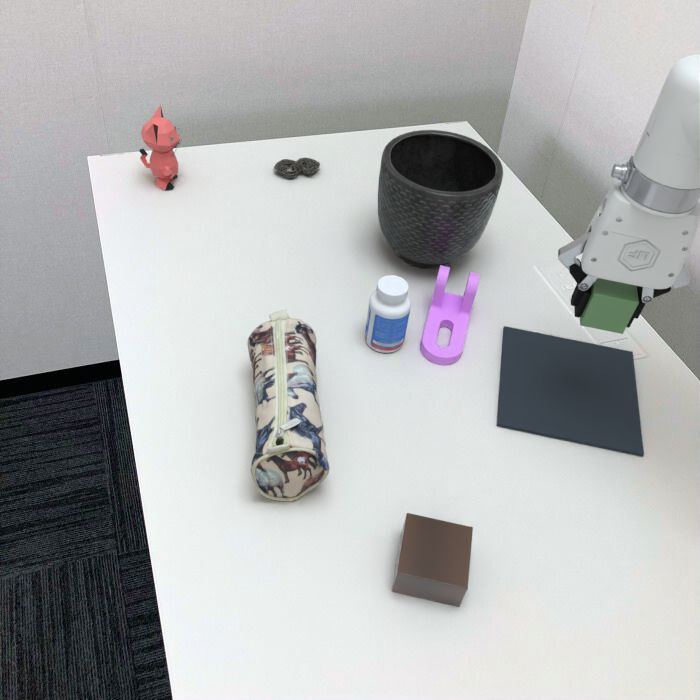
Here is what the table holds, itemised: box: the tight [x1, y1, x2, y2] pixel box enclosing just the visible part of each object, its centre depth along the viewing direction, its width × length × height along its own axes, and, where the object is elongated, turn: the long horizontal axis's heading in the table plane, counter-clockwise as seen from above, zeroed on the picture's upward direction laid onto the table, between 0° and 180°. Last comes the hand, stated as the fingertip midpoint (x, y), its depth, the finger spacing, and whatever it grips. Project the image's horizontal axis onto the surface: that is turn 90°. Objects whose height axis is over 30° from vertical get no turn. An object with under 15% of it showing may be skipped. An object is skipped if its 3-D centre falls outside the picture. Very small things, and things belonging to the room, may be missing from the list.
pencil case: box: [246, 309, 330, 502], centre depth 85 cm, size 22×8×10 cm, turn 6°
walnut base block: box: [391, 512, 474, 608], centre depth 76 cm, size 7×7×4 cm
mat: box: [496, 325, 645, 458], centre depth 97 cm, size 18×18×1 cm
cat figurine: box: [138, 103, 183, 191], centre depth 116 cm, size 7×7×12 cm
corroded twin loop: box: [273, 157, 321, 179], centre depth 126 cm, size 5×8×1 cm, turn 108°
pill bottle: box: [364, 274, 412, 354], centre depth 96 cm, size 6×5×10 cm
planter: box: [377, 129, 504, 270], centre depth 108 cm, size 17×17×16 cm
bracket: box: [420, 265, 481, 366], centre depth 100 cm, size 13×6×7 cm, turn 166°
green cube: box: [579, 278, 639, 335], centre depth 86 cm, size 5×5×5 cm
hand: (601, 313), depth 87 cm, fingers closed on green cube, 5 cm apart
